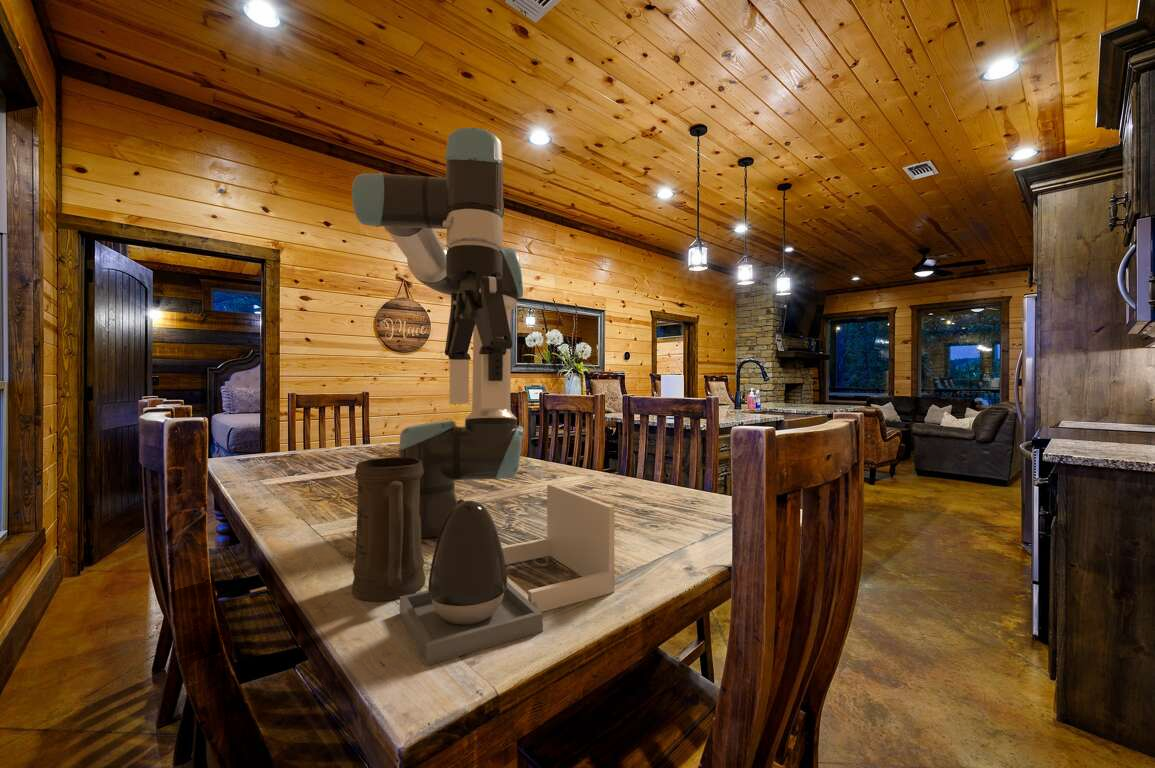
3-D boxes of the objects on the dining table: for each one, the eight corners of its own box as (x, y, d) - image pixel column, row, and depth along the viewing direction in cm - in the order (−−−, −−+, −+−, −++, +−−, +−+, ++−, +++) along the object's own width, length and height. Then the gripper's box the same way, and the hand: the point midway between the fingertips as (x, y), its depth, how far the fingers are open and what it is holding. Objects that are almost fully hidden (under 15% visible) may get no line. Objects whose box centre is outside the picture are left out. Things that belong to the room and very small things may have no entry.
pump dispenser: (494, 593, 71) (495, 489, 71) (517, 624, 62) (517, 505, 62) (422, 606, 67) (423, 496, 67) (435, 642, 57) (435, 514, 57)
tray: (399, 613, 66) (399, 596, 66) (499, 590, 74) (499, 575, 74) (426, 666, 54) (426, 645, 54) (542, 631, 61) (542, 613, 61)
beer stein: (343, 581, 77) (345, 457, 76) (411, 566, 83) (414, 452, 82) (367, 627, 65) (369, 479, 63) (444, 605, 71) (448, 471, 70)
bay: (480, 567, 83) (480, 492, 83) (551, 553, 90) (552, 483, 90) (531, 614, 66) (531, 519, 66) (614, 592, 73) (614, 506, 73)
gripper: (424, 265, 74) (424, 402, 75) (479, 218, 53) (478, 411, 53) (471, 271, 78) (471, 401, 78) (540, 230, 57) (539, 409, 57)
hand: (474, 405), depth 66 cm, fingers open, 13 cm apart
